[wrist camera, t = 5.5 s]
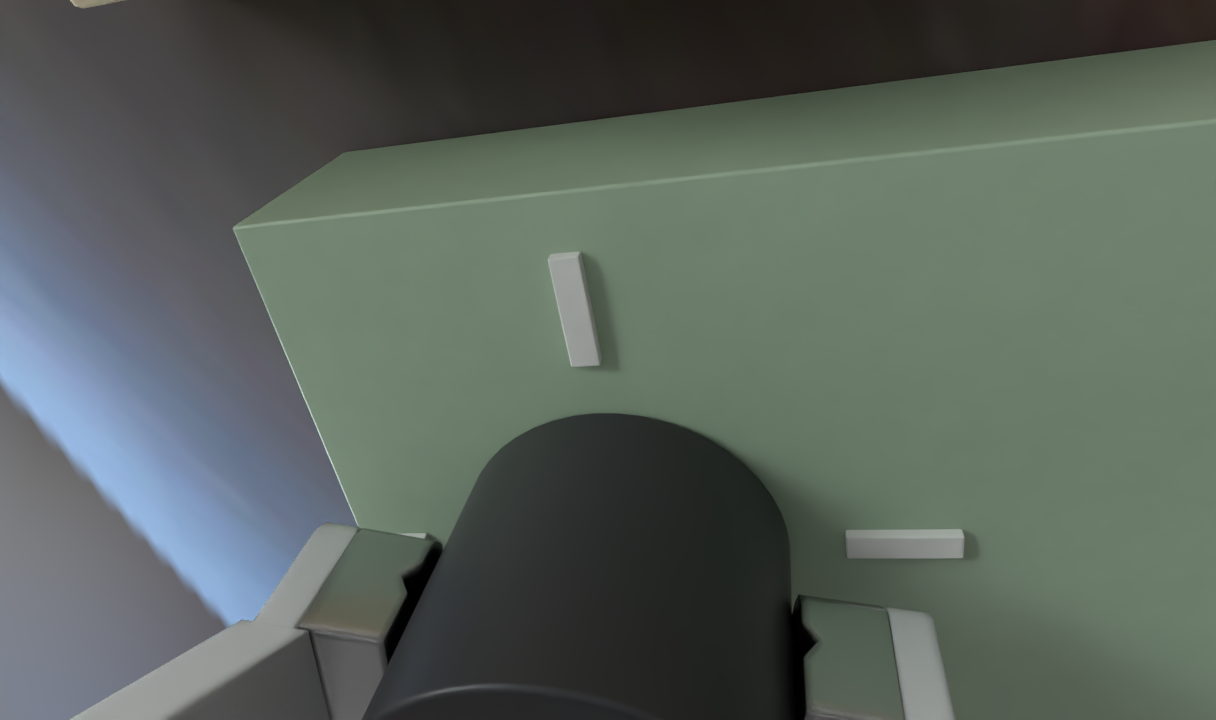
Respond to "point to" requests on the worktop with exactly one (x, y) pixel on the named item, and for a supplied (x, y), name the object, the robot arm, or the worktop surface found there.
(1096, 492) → the dial panel
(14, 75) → the worktop surface
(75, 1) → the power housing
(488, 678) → the timer dial
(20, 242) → the worktop surface
